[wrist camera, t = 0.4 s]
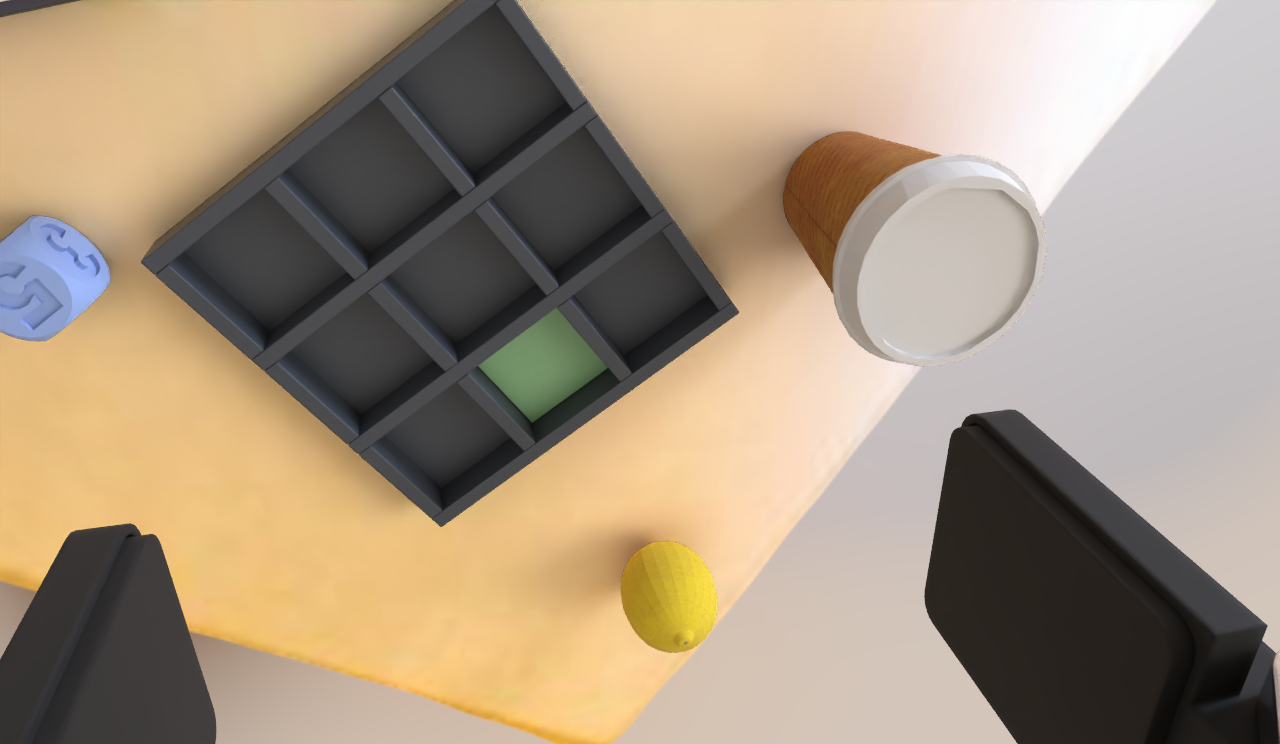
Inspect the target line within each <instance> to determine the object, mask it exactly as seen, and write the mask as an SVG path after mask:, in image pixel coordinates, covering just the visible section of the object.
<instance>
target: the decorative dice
mask: <svg viewBox="0 0 1280 744" xmlns="http://www.w3.org/2000/svg"><path fill="white" fill-rule="evenodd" d="M110 282H111V281H110V271H109V268H108V265H107V263H106V261H105V259H104V258H103V256H102V255H101V253H100V252H99V251H98V250H97V248H96V247H95V246H94V245H93V244H92V243H91V242H90V241H89V240H88V239H87V238H86V237H85V236H83V235H82V234H81V233H80V232H78V231H77V230H75V229H74V228H72V227H71V226H69V225H67V224H66V223H64V222H62V221H59V220H57V219H54V218H51V217H46V216H35V215H32V216H31V217H30V218H28V219H27V220H26V221H25V222H24V223H22V224H21V225H20V226H19V227H17V228H16V229H15V230H14V231H13V232H12V233H10V234H9V235H8V236H7V237H6V238H4V239H3V240H2V241H1V242H0V331H1V332H2V333H4V334H7V335H9V336H11V337H14V338H17V339H22V340H28V341H47V340H49V339H50V338H52V337H53V336H55V335H56V334H57V333H59V332H60V331H61V330H62V329H64V328H65V327H66V326H67V325H68V324H70V323H71V322H72V321H73V320H74V319H75V318H77V317H78V316H79V315H80V314H81V313H82V312H83V311H84V310H85V309H86V308H87V307H89V306H90V305H91V304H92V303H93V302H94V301H95V300H96V299H97V298H98V297H99V296H100V295H101V293H102V292H103V291H104V290H105V289H106V288H107V287H108V285H109V284H110Z"/></svg>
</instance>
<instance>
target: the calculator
mask: <svg viewBox="0 0 1280 744" xmlns="http://www.w3.org/2000/svg"><path fill="white" fill-rule="evenodd" d="M74 1H79V0H0V17H4V16H8V15H13V14H18V13H23V12H27V11H32V10H37V9H41V8H46V7H51V6H56V5H60V4H65V3H70V2H74Z"/></svg>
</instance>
